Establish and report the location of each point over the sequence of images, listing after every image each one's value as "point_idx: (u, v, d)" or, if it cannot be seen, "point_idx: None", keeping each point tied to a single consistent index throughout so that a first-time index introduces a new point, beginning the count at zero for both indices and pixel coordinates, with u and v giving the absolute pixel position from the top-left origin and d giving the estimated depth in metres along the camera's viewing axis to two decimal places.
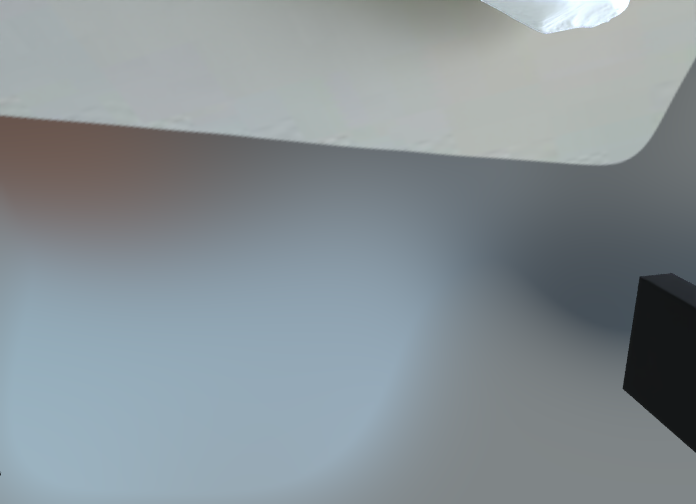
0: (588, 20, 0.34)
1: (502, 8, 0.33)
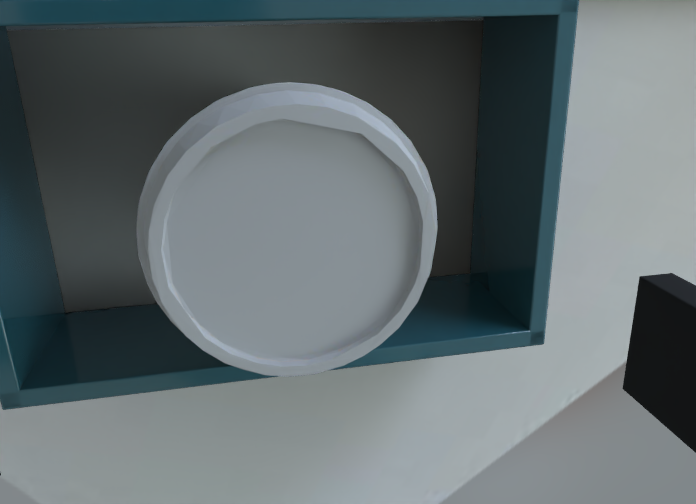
0: None
1: None
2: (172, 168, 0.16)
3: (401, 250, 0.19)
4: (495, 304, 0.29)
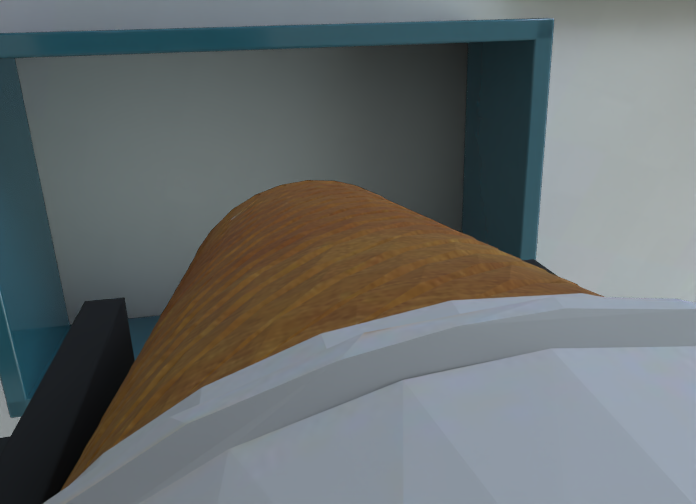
0: None
1: None
2: None
3: None
4: None
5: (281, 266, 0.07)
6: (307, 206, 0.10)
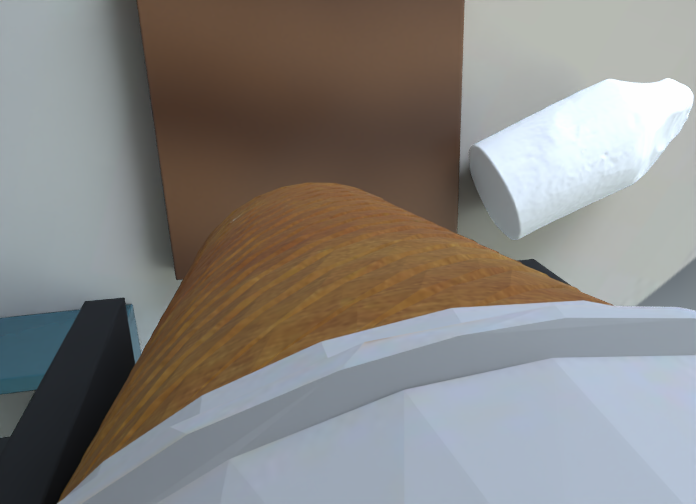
0: (670, 135, 0.33)
1: None
2: None
3: None
4: None
5: (281, 271, 0.07)
6: (307, 209, 0.10)
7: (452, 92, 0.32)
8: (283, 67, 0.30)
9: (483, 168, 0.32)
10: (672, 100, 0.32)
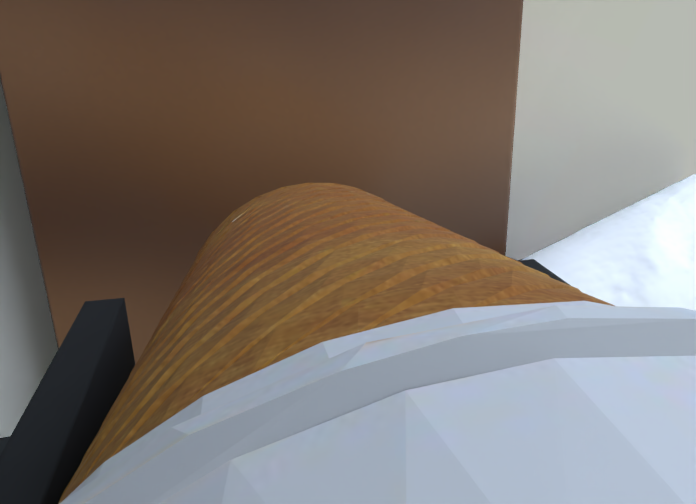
0: None
1: None
2: None
3: None
4: None
5: (282, 271, 0.07)
6: (308, 209, 0.10)
7: (496, 184, 0.21)
8: (239, 152, 0.19)
9: None
10: None
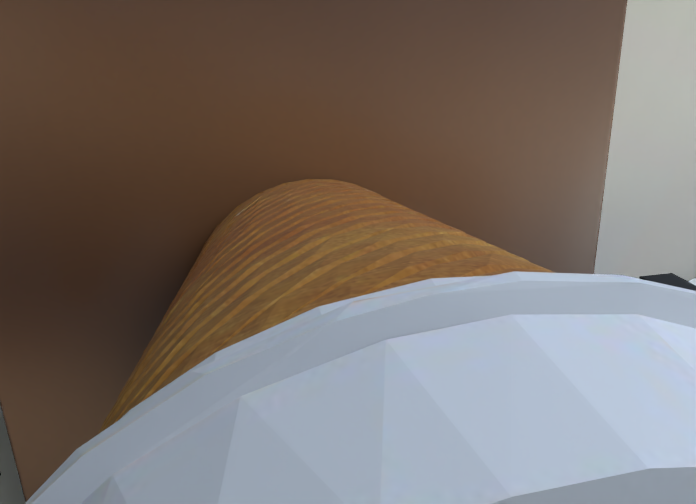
0: None
1: None
2: None
3: None
4: None
5: (283, 255, 0.07)
6: (308, 202, 0.11)
7: (581, 230, 0.16)
8: (249, 193, 0.14)
9: None
10: None
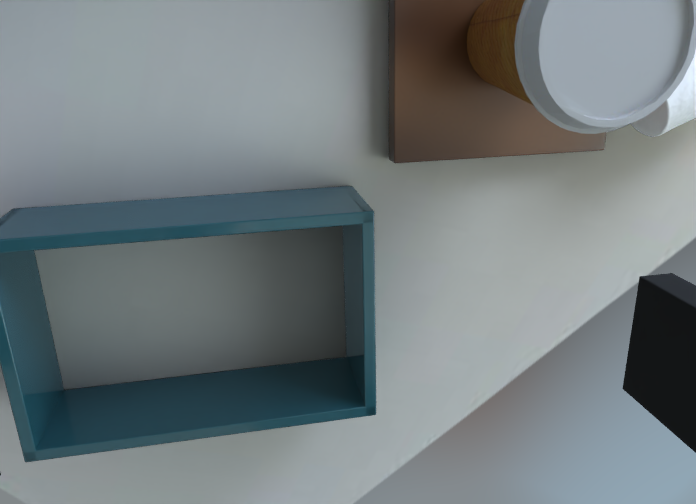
0: None
1: None
2: None
3: (675, 44, 0.30)
4: (352, 384, 0.43)
5: None
6: None
7: None
8: None
9: None
10: None
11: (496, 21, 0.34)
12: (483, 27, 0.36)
